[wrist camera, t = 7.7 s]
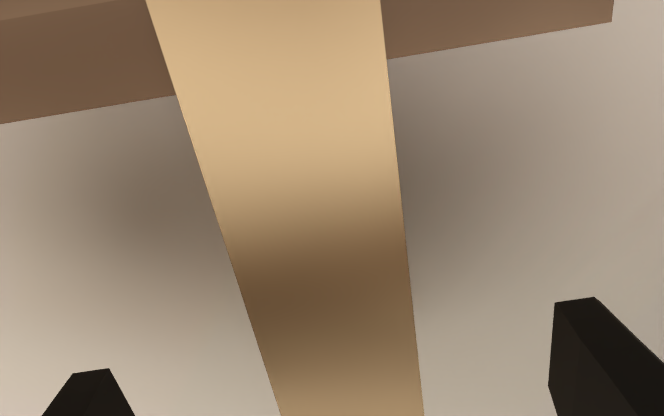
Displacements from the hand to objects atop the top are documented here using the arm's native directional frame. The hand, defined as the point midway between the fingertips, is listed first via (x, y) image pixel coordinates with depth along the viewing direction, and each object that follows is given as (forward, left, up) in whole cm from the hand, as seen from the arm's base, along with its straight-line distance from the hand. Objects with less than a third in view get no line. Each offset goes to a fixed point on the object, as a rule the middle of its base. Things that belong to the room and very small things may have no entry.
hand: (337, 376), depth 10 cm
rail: (0, 0, -8) cm, 8 cm away
